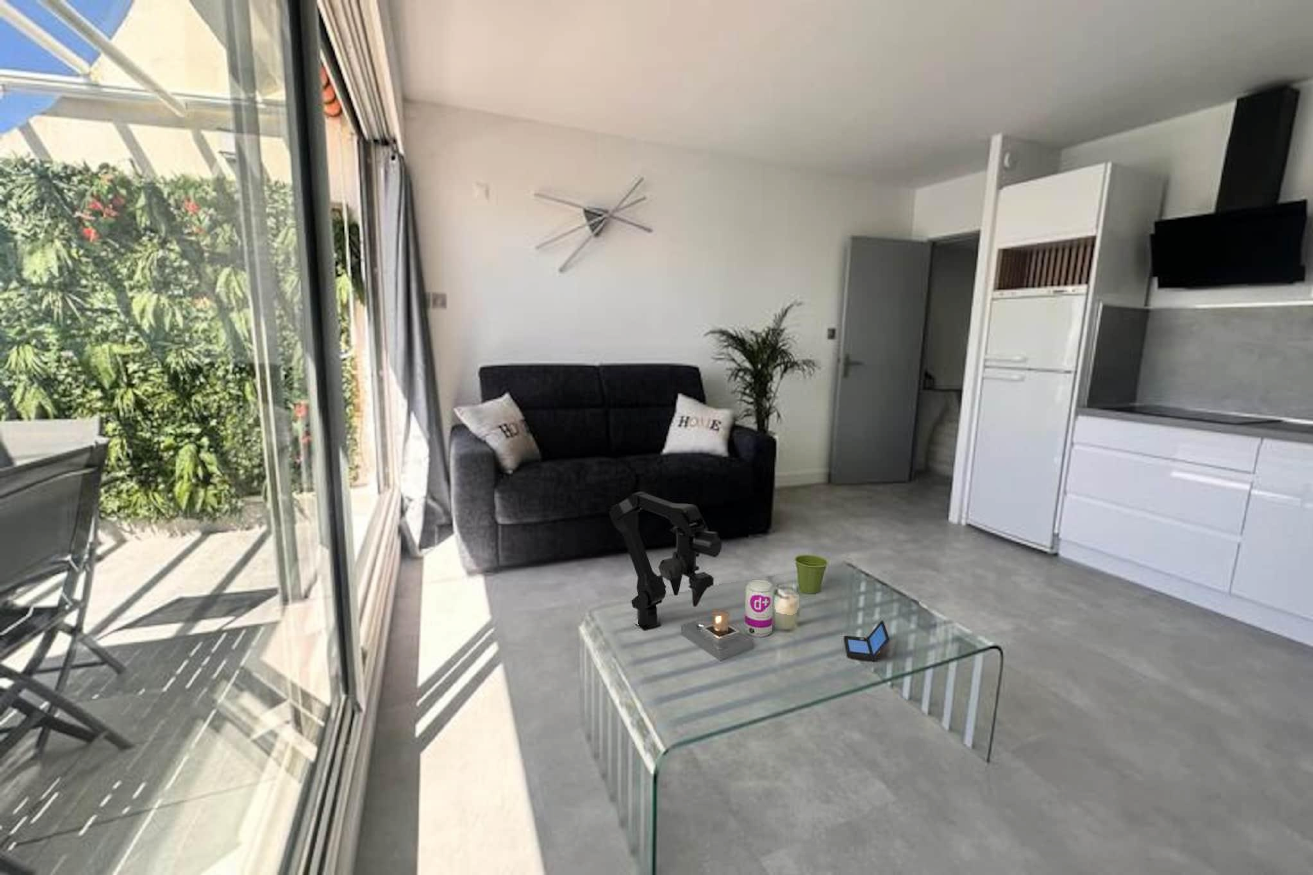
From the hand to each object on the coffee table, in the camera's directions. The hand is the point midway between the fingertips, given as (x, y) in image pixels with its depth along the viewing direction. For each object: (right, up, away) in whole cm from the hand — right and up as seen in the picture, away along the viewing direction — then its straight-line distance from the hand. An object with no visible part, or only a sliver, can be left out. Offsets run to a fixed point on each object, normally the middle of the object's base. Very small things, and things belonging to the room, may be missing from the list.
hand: (685, 600), depth 169 cm
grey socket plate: (+9, -12, +1) cm, 15 cm away
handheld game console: (+51, -14, -3) cm, 53 cm away
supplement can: (+23, -12, +7) cm, 26 cm away
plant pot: (+47, -8, +39) cm, 61 cm away
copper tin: (+10, -11, -1) cm, 15 cm away
